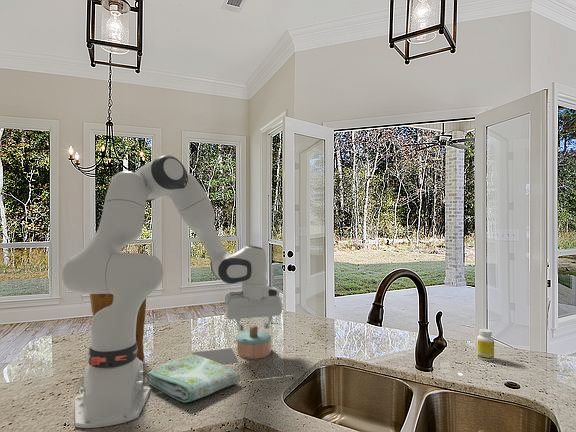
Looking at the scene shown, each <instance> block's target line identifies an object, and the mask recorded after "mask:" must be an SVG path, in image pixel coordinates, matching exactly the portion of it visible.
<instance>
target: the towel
mask: <svg viewBox="0 0 576 432" xmlns="http://www.w3.org/2000/svg"><path fill="white" fill-rule="evenodd" d="M147 374H148V381H149V382H148V383H149V385H150V386H151V387H153V388H155V389H156V390H158V391H160V392H162V393H165V394H166V395H168V396H169V397H171V398H173V399H175V400H177V401H178V402H181V403H189V402H193V401H196V400H198V399H201V398H203V397H204V398H205V397H206V396H209V395H211V394H213V393H216V392H217V391H221V390H222V389H225V388H227V387H230V386H232V385H233V386H234V385H235V384H237V383H238V382H239V381H240V379H241V375H240V374H239V372H238V371H237V370H234V369H233V368H232V367H229V366H227V365H226V364H219V363H217V362H215V361H212V360H210V359H206V358H203V357H201V356H198V355H193V354H189V355H186V356H183V357H180V358H177V359H174V360H170V361H168V362H166V363H164V364H163V363H162V364H160V365H159V366H156V367H154V368H152V369H151V370H150V371H149V372H148V373H147Z"/></svg>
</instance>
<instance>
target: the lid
mask: <svg viewBox="0 0 576 432" xmlns="http://www.w3.org/2000/svg"><path fill="white" fill-rule="evenodd" d="M258 328H259V327H258V325H254V324H253V325H249V331H245V332H244V331H243V332H241V333H238V334H237V335H236V336H235V337H236V338H235V340H236V343H237V342H239V343H242V344H248V345H257V344H263V343H267V342H269V341H270V340H271V341H272V335H271V334H270V333H268V332H265V331H259V330H258Z"/></svg>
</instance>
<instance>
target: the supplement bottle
mask: <svg viewBox="0 0 576 432" xmlns="http://www.w3.org/2000/svg"><path fill="white" fill-rule="evenodd" d="M478 331H479V332H478V333H479V335H477V337H476V357H477V358H478V359H479V360H481V361H489V362H490V361H491V362H492V361H493V360H494V358H495V339H494V337H493V330H491V329H487V328H480V329H479V330H478Z"/></svg>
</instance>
